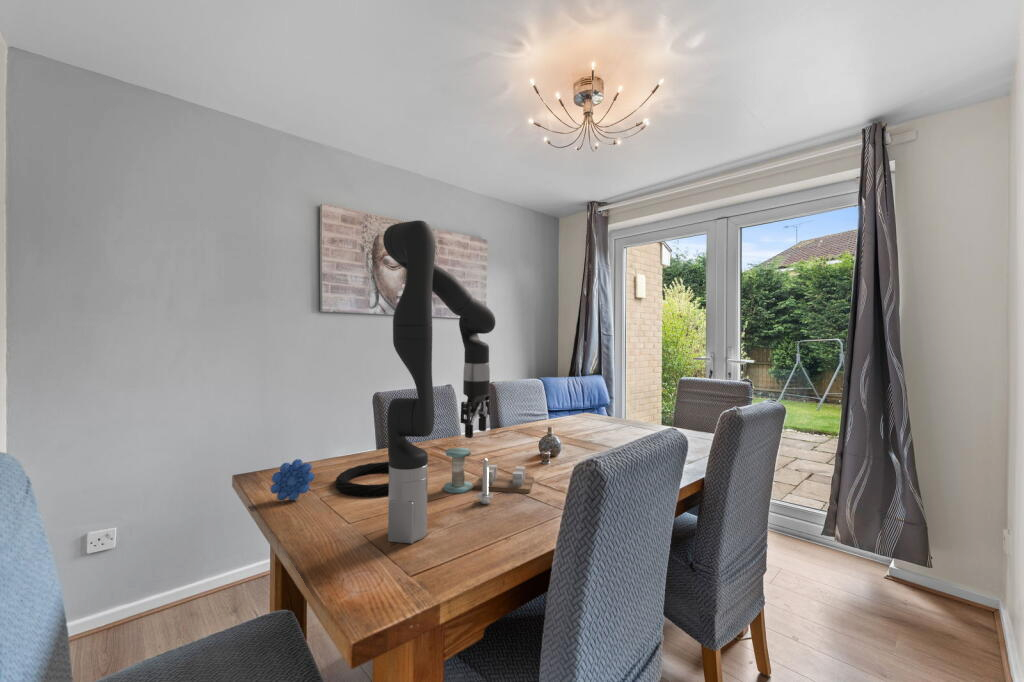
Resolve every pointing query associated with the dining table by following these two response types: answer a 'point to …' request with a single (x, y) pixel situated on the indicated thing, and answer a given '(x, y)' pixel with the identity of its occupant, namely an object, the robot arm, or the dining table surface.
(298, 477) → the blue flower
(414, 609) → the dining table surface
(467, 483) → the bobbin
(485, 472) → the screw
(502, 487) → the notch board
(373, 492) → the cable lock
